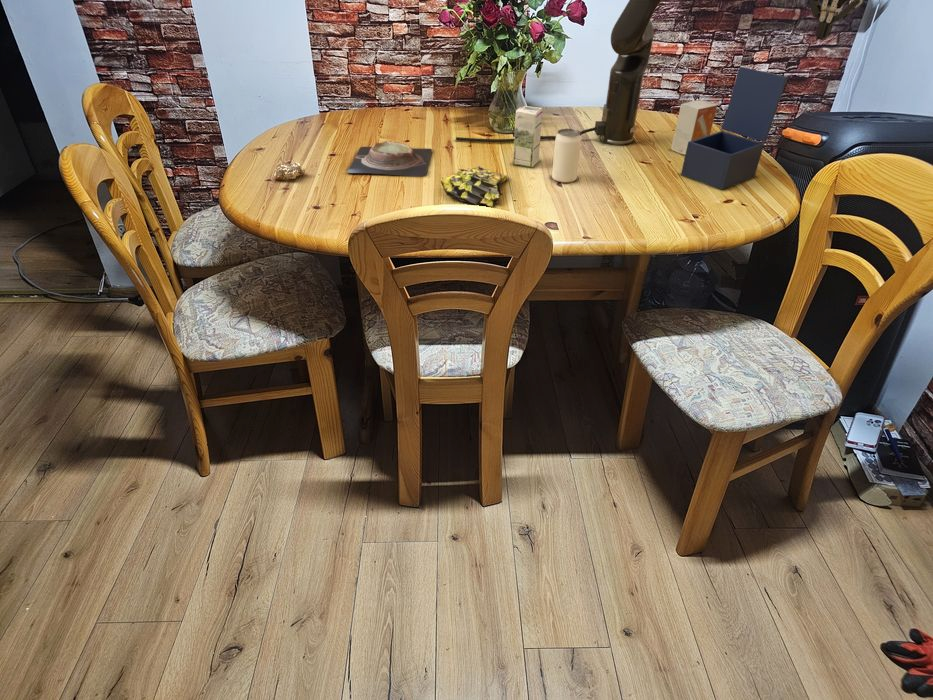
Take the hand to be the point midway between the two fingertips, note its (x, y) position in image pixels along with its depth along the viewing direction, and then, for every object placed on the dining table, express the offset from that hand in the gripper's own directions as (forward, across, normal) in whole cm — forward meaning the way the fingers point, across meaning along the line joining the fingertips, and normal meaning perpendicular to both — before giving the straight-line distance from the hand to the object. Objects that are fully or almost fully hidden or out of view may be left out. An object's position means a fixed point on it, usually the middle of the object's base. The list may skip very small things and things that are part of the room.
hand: (821, 39), depth 151 cm
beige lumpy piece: (+33, -71, -111) cm, 136 cm away
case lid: (+15, -6, -12) cm, 20 cm away
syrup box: (+32, -43, -55) cm, 77 cm away
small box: (+32, -22, -10) cm, 40 cm away
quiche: (+33, -66, -84) cm, 111 cm away
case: (+32, -6, -20) cm, 38 cm away
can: (+32, -29, -54) cm, 69 cm away
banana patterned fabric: (+32, -36, -76) cm, 90 cm away
